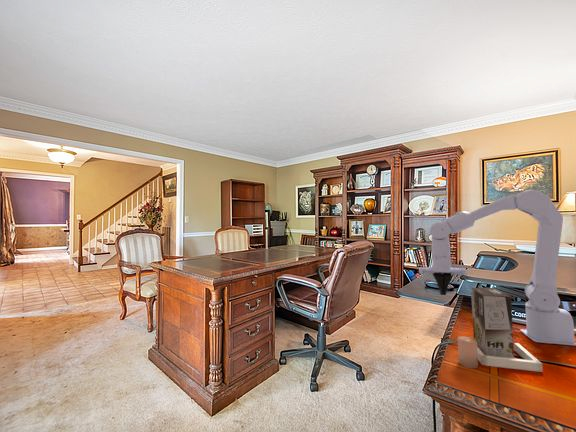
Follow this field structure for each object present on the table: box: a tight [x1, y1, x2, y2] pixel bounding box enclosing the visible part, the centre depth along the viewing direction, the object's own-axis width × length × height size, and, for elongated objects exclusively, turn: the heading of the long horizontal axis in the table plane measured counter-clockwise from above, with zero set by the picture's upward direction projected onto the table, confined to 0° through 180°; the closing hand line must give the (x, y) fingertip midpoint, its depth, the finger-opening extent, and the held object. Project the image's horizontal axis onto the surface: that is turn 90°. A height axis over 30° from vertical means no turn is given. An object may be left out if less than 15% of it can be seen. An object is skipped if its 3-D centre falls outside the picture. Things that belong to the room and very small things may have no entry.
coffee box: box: [470, 287, 515, 359], centre depth 71 cm, size 9×6×16 cm
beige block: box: [457, 335, 479, 369], centre depth 65 cm, size 4×4×6 cm
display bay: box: [477, 342, 543, 373], centre depth 67 cm, size 12×10×2 cm
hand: (442, 294), depth 91 cm, fingers closed
